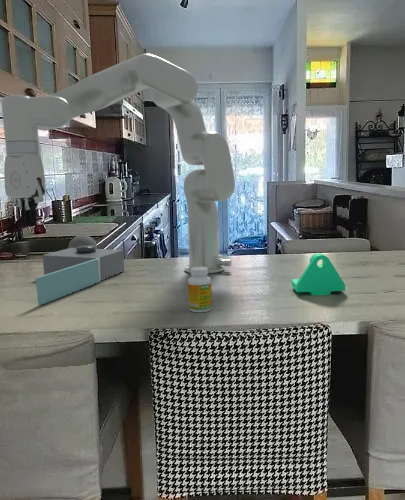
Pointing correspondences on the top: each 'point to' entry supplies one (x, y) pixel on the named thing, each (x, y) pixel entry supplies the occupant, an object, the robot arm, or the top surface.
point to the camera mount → (319, 277)
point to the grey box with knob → (85, 259)
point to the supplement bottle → (199, 290)
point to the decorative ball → (81, 241)
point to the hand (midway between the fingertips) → (29, 225)
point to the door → (67, 281)
